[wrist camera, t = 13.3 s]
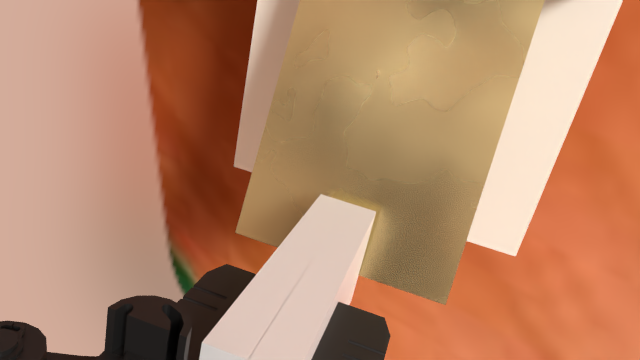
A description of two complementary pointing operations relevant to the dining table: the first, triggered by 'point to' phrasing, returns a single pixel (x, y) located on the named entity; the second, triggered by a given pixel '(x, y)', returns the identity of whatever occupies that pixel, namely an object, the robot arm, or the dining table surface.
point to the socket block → (521, 123)
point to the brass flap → (391, 126)
